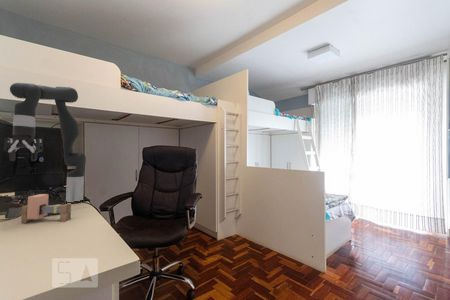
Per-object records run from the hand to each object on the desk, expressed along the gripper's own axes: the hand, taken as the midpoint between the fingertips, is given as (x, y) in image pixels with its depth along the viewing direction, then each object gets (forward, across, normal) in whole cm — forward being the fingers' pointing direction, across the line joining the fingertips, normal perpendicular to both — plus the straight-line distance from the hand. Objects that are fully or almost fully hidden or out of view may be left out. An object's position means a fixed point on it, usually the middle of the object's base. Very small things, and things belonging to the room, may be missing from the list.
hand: (23, 160), depth 96 cm
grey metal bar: (+25, -9, -2) cm, 26 cm away
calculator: (+29, -1, -14) cm, 33 cm away
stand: (+28, -9, -2) cm, 30 cm away
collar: (+27, -5, -2) cm, 27 cm away
